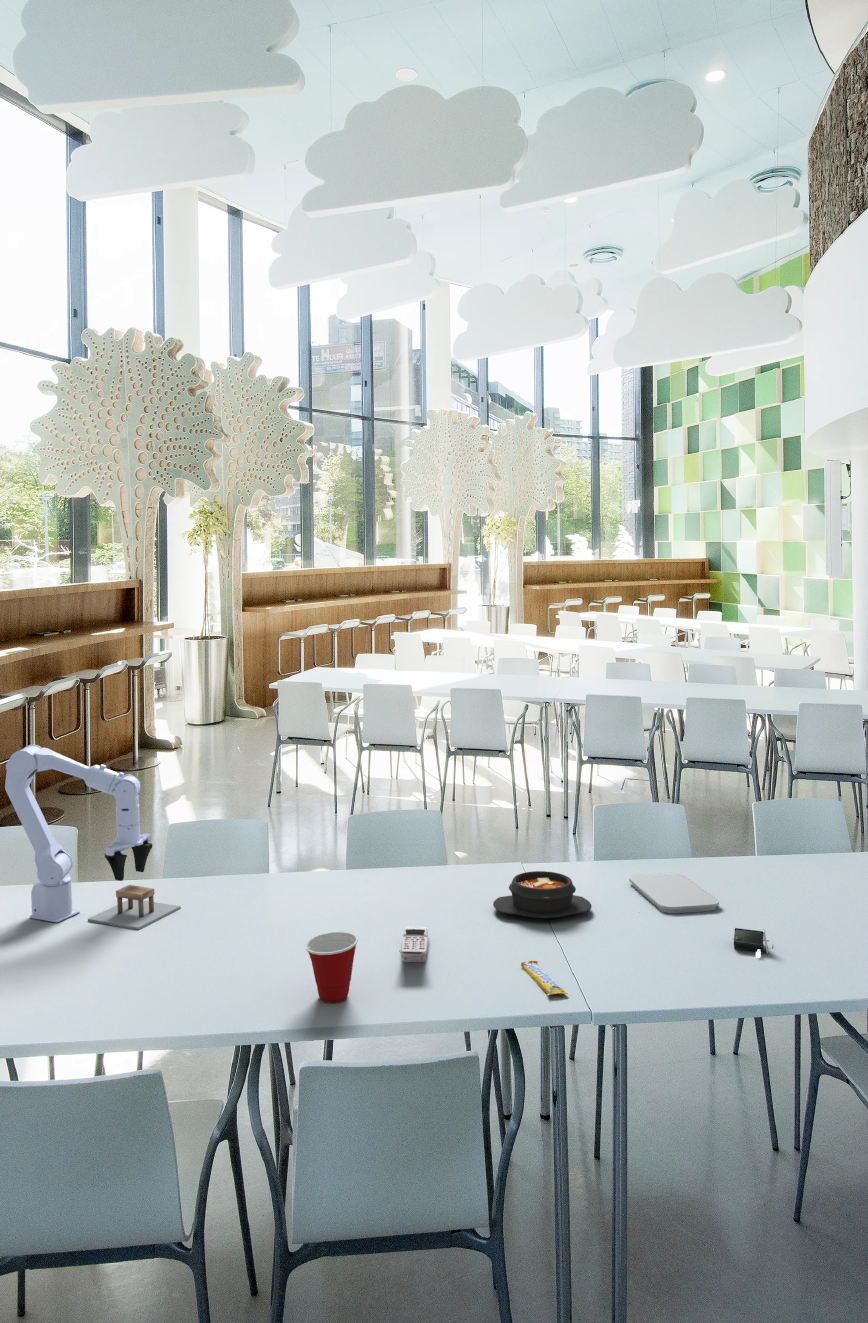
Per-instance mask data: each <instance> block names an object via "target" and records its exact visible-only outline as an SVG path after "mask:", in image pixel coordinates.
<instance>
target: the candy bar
mask: <svg viewBox="0 0 868 1323" xmlns="http://www.w3.org/2000/svg"><path fill="white" fill-rule="evenodd" d="M538 962H539V961H537V960H529V961H528V963H527V961H523V962H521V963H520V966H521V968H522V969H523V968H524V969H523V971H525V972H526V973H527V974H528V975H529V977H530V976H531V977H532V978H533V979H534V980H535V981H536V982H537V983H536V982H535V981H534V980H533V979H532V978H531V979H532V980H533V981H534V982H535V983H536V984H537V985H538V984H539V985H538V987H541V988H542V989H543V990H544V991H545V992H546V993H547V994H546V993H545V992H544V991H543V992H544V993H545V994H546V996H552V995H567V994H569V993H568V992H566V991H565V990H564V989H563V987H561V986H560V985H559V984H558V983H557V982H556V981H555V979H553V978H552V977H551V976H550V975H549V974H547V972H546V971H545V970H544V969H543V968H542V967H540V964H538ZM542 989H541V990H542Z"/></svg>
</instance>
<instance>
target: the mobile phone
mask: <svg viewBox="0 0 868 1323" xmlns="http://www.w3.org/2000/svg"><path fill="white" fill-rule="evenodd" d="M428 948H429V932H428V927H427V926H404V929H403V933H402V939H401V949H400V950H399V954H400V955H401V961H402V962H403V963H404V962H405V963H425V962H426V961H427V960H426V959H427V953H428Z"/></svg>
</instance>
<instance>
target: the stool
mask: <svg viewBox="0 0 868 1323" xmlns="http://www.w3.org/2000/svg"><path fill="white" fill-rule="evenodd" d="M154 896H155V888H154V887H153V888H152V887H146V886H141V885H140V886H139V885H132V884H127V885H126V886H123V887H121V888H119V889H116V890H115V897H116V901H117V903H116V906H118V914H122V913H123V906H122V903H123V899H127V901H128V909H133V900H138V907H139V918H142V917H144V907H143V900H144V901H145V900H146V899H148V901H149V913H153V912H154V902H155V901H154V899H155V897H154Z"/></svg>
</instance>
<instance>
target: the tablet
mask: <svg viewBox="0 0 868 1323" xmlns="http://www.w3.org/2000/svg"><path fill="white" fill-rule="evenodd" d="M628 881H629V882H630V883H631V886H632V888H634V889H635V890H636V891H638V893H640V894H641V895H642V896H644V898H645V899H647V900H648V902H651V903H652V904H653V906H655V907H656V908H657V909H658V910H659V911H661V912H662V913H668V914H678V913H679V914H681V913H694V912H695V913H696V912H710V911H715V910H716V909H717V906H719V905H720V900H719V898H717V897H716V896H714V895H713V894H711V893H710V892H708V891H707V890H705V888H703V887H701V885H699V884H698V883H696V882H695V881H694V880H692V879H691V878H689V877H688V876H686V875H685V874H682V873H678V872H664V873H663V872H662V873H659V872H658V873H646V874H634V875H630V876H629V877H628Z"/></svg>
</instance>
